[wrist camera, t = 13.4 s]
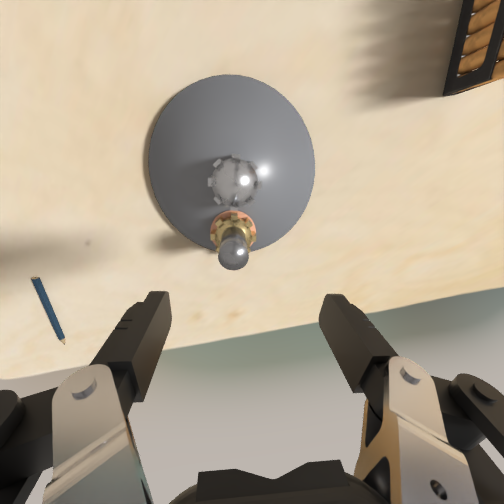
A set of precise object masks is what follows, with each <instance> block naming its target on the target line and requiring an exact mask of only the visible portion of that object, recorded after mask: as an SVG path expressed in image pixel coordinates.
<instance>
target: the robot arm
mask: <svg viewBox="0 0 504 504" xmlns="http://www.w3.org/2000/svg"><path fill="white" fill-rule="evenodd" d="M171 321H172V314H171V306H170V299H169V293H168V292H167V291H151V292H149V294H148V295H147V297H146V299H145V300H144V302H137V303H136V304H134V305H133V306H132V307H130V308H129V309H128V310H127V311H126V312H125V314H124V315H123V317H122V318H121V321H120V322H119V323H118V324H117V326H116V327H115V330H113V331H112V333H111V334H110V336H109V337H108V339H107V340H106V342H105V343H104V345H103V346H102V347H101V349H100V350H99V352H98V353H97V355H96V356H95V358H94V359H93V361H92V362H91V363H90V365H89V366H87V367H84V368H82V369H80V370H78V371H77V372H75V373H73V374H72V375H70V376H69V377H68V378H67V379H66V380H64V381H63V382H62V384H61V385H60V386H59V387H56V388H53V389H50V390H47V391H43V392H40V393H37V394H33V395H30V396H27V397H24V398H19V397H18V395H17V394H16V393H15V392H14V391H11V390H0V504H25V502H26V500H27V499H28V497H29V495H30V493H31V491H32V489H33V488H34V486H35V484H36V482H37V481H38V479H39V477H40V475H41V473H42V471H43V470H46V469H48V468H50V467H53V477H52V481H51V482H50V483H48V484H47V486H46V488H45V491H44V495H43V503H42V504H154V503H153V500H152V496H151V493H150V489H149V486H148V483H147V480H146V477H145V474H144V471H143V467H142V464H141V460H140V457H139V453H138V450H137V447H136V443H135V439H134V436H133V432H132V429H131V426H130V422H129V418H128V414H129V411H130V408H131V406H132V404H133V402H143V401H144V399H145V395H146V393H147V390H148V388H149V385H150V382H151V379H152V376H153V374H154V371H155V368H156V365H157V363H158V360H159V357H160V355H161V352H162V349H163V346H164V344H165V341H166V338H167V335H168V333H169V330H170V327H171ZM319 325H320V328H321V330H322V332H323V334H324V336H325V338H326V340H327V342H328V344H329V346H330V348H331V349H332V352H333V354H334V356H335V358H336V360H337V362H338V363H339V366H340V368H341V370H342V372H343V374H344V376H345V378H346V380H347V382H348V384H349V386H350V388H351V390H352V391H353V393H364V394H365V395H366V397H367V399H366V401H365V404H364V415H363V427H362V437H361V447H360V453H359V457H358V460H357V463H356V466H355V470H354V476H353V475H350V474H348V473H346V472H344V469H343V466H342V464H341V461H340V460H330V461H319V462H308V463H306V464H304V465H302V466H300V467H298V468H296V469H294V470H292V471H290V472H289V473H287V474H285V475H283V476H281V477H279V478H277V479H269V478H265V477H262V476H258V475H255V474H252V473H248V472H245V471H241V470H238V469H228V470H217V471H205V472H199V473H198V482H197V484H196V485H194V486H192V487H189V488H188V489H187V490H185V491H184V492H182V493H181V494H179V495H178V496H177V497H176V498H175V499H174V500H172V501H171V502H170V503H169V504H504V474H503V473H502V472H501V471H500V469H499V468H498V467H497V466H496V465H495V463H494V462H493V461H492V460H491V458H490V457H489V456H488V455H487V453H486V452H485V451H484V450H483V448H482V447H481V446H480V445H479V443H480V442H481V441H483V440H484V439H485V438H487V439H488V440H489V441H490V442H491V443H492V445H493V446H494V447H495V448H496V449H497V450H498V452H499V453H500V454H501V455H502V456H503V458H504V396H503V395H502V394H501V393H500V392H499V391H498V390H497V389H495V388H494V387H493V386H491V385H490V384H488V383H487V382H485V381H483V380H481V379H479V378H477V377H475V376H472V375H469V374H458V375H457V377H456V378H455V379H454V380H453V381H449V380H445V379H441V378H438V377H434V376H430V375H429V374H428V373H427V372H426V371H425V370H424V369H423V368H422V367H421V366H419V365H418V364H417V363H415V362H413V361H411V360H409V359H407V358H404V357H400V356H398V354H397V353H396V352H395V351H394V349H393V348H392V347H391V346H390V345H389V343H388V342H387V341H386V340H385V339H384V337H383V336H382V335H381V334H380V332H379V331H378V330H377V329H376V328H375V327H374V325H373V324H372V323H371V322H370V321H369V319H368V318H367V317H366V315H365V314H364V313H363V312H362V311H361V310H360V309H359V308H357V307H356V306H355V305H353V304H350V303H349V301H348V300H347V299H346V298H345V296H344V295H342V294H327V295H326V296H325V298H324V301H323V305H322V308H321V311H320V314H319Z"/></svg>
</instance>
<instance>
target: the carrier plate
mask: <svg viewBox="0 0 504 504" xmlns="http://www.w3.org/2000/svg"><path fill="white" fill-rule="evenodd" d="M149 174H150V179H151V184H152V188H153V191H154V194H155V197H156V199H157V201H158V203H159V205H160V207H161V209H162V211H163V212H164V214H165V215H166V217H167V218H168V219H169V221H170V222H171V223H172V224H173V225H174V226H175V227H176V228H177V229H178V230H179V231H180V232H181V233H182V234H183V235H185V236H186V237H187V238H188V239H190V240H192V241H193V242H195V243H196V244H199V245H201V246H203V247H205V248H208V249H211V250H214V251H216V250H215V249H216V245H217V244H216V242H215V240H211V237H210V234H211V231H212V230H216V229H217V226H216V225H215V222H216V220H217V219H218V218H219V217H220V216H221V217H222V218H223V219H224V218H227V217H230V216H231V212H237V213H238V217H240V218H242V219H244V220H245V219H246V218H247V217H248V218H249V219H250V220H251V221H252V224H253V226H252V227H251V228H250V229H251V231H255V232H256V242H251V244H250V248H251V251H255V250H259V249H261V248H264V247H266V246H269V245H270V244H272V243H274V242H276V241H277V240H279V239H280V238H281V237H283V236H284V235H285V234H286V233H287V232H288V231H289V230H291V228H292V227H293V226H294V225H295V224H296V223H297V221H298V220H299V218H300V217H301V215H302V214H303V212H304V210H305V208H306V206H307V204H308V201H309V199H310V196H311V192H312V188H313V184H314V176H315V158H314V150H313V146H312V142H311V138H310V135H309V133H308V130H307V127H306V126H305V124H304V122H303V120H302V118H301V116H300V115H299V113H298V112H297V111H296V109H295V108H294V106H293V105H292V104H291V103H290V102H289V101H288V100H287V99H286V98H285V97H284V96H283V95H282V94H280V93H279V92H278V91H277V90H275V89H274V88H272V87H270V86H269V85H267V84H265V83H263V82H261V81H258V80H256V79H253V78H250V77H245V76H240V75H218V76H211V77H208V78H205V79H202V80H199V81H197V82H195V83H193V84H191V85H189V86H188V87H186V88H185V89H184V90H182V91H181V92H180V93H178V94H177V95H176V96H175V97H174V98H173V99H172V100H171V101H170V102H169V103H168V105H167V106H166V108H165V109H164V110H163V112H162V113H161V115H160V117H159V119H158V121H157V123H156V125H155V128H154V131H153V134H152V137H151V142H150V148H149ZM251 251H250V252H251Z"/></svg>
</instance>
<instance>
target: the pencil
mask: <svg viewBox="0 0 504 504" xmlns="http://www.w3.org/2000/svg"><path fill="white" fill-rule="evenodd" d="M31 280H32V282H33V284H34V286H35V288H36V291H37V293H38V295H39V297H40V300H41V302H42V304H43V306H44V308H45V311H46V313H47V315H48V317H49V320H50V322H51V324H52V326H53V328H54V330H55V333H56V335H57V337H58V339H59V340H60V341H61V342H62V343H63V344H65V337H64V334H63V332H62V329H61V327H60V325H59V322H58V320H57V318H56V315H55V313H54V311H53V308H52V306H51V304H50V301H49V299H48V297H47V294H46V292H45V289H44V287H43V285H42V282H41V280H40V278H39V277H32V279H31Z"/></svg>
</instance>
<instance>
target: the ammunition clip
mask: <svg viewBox="0 0 504 504" xmlns="http://www.w3.org/2000/svg"><path fill="white" fill-rule="evenodd" d="M486 46H487V47H486ZM484 47H485V48H484ZM477 50H478V51H477ZM498 60H499V61H498ZM496 61H498V62H496ZM477 68H478V69H477ZM475 69H476V70H475ZM472 70H474V71H472ZM503 78H504V0H463V5H462V9H461V14H460V19H459V23H458V28H457V32H456V37H455V41H454V46H453V51H452V55H451V60H450V64H449V69H448V74H447V78H446V83H445V87H444V92H443V96H450V95H456V94H459V93H462V92H465V91H468V90H471V89H474V88H476V87H479V86H482V85H485V84H488V83H491V82H494V81H496V80H499V79H503Z"/></svg>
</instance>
